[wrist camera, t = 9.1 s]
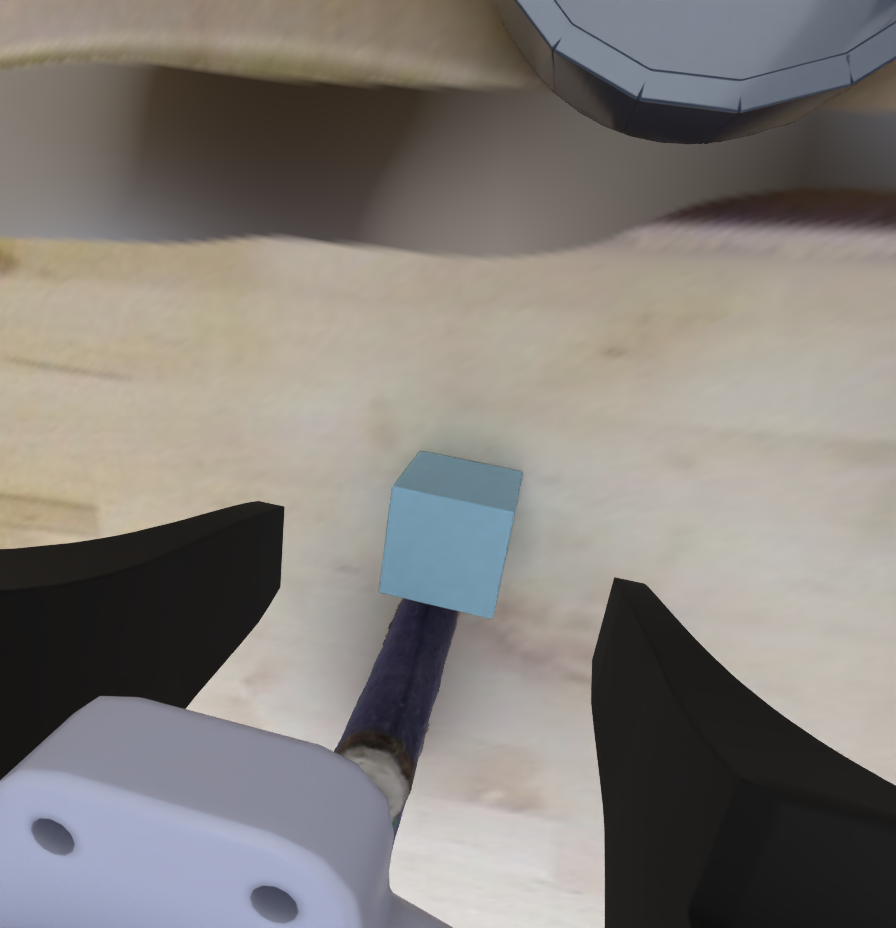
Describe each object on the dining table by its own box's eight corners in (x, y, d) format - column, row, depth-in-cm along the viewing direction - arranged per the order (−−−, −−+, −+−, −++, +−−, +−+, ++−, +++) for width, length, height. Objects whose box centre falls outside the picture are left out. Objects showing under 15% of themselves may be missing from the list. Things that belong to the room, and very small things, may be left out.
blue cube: (504, 564, 24) (492, 620, 20) (406, 542, 24) (378, 593, 21) (523, 470, 22) (514, 512, 19) (419, 449, 23) (391, 485, 19)
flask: (421, 759, 28) (338, 1038, 18) (360, 739, 28) (245, 1002, 18) (469, 591, 24) (402, 814, 14) (401, 569, 25) (289, 774, 15)
